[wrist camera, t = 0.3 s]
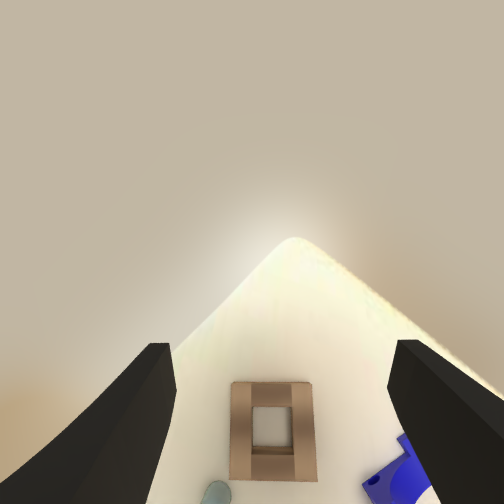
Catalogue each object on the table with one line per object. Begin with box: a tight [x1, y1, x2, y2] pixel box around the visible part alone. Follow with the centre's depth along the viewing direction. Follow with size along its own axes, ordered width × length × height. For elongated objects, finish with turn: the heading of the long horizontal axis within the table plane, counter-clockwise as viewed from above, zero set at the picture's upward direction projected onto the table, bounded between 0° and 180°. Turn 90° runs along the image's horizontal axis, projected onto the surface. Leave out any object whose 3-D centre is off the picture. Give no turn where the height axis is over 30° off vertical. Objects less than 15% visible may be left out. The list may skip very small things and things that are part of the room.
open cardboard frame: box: [229, 382, 318, 482], centre depth 33 cm, size 9×9×3 cm
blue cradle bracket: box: [362, 433, 431, 504], centre depth 30 cm, size 12×4×6 cm, turn 120°
